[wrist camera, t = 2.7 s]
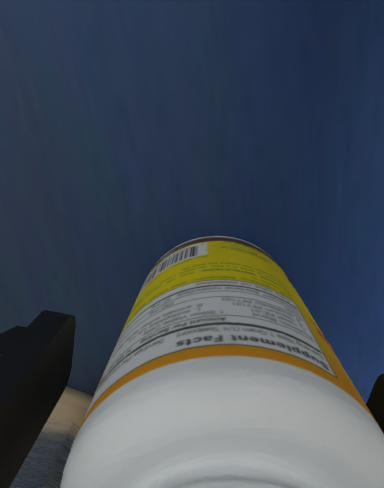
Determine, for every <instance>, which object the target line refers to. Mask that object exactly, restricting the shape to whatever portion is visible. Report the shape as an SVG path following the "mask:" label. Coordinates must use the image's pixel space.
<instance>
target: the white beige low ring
mask: <svg viewBox="0 0 384 488" xmlns="http://www.w3.org/2000/svg"><path fill="white" fill-rule="evenodd" d="M79 428H80V426H79V425H78V424H76V423H75V422H73V421H68V420H62V419H57V418H51V417H49V419H48V420H47V422H46V424H45V426H44V427H43V429H42V431H41V433H40V434H39V436H38V438H37V440H36V441H35V443H34V445H33V447H32V448H31V450H30V452H29V454H28V455H27V457H26V459H25V461H24V463H23V464H22V466H21V468H20V470H19V471H18V473H17V475H16V477H15V478H14V480H13V482H12V484H11V485H10V487H9V488H60V486H61V481H62V476H63V471H64V468H65V465H66V462H67V459H68V456H69V453H70V451H71V447H72V444H73V442H74V440H75V437H76V435H77V433H78V431H79Z"/></svg>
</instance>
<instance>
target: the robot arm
mask: <svg viewBox="0 0 384 488" xmlns="http://www.w3.org/2000/svg"><path fill="white" fill-rule="evenodd" d="M75 323H76V321H75V316H73V315H68V314H63V313H58V312H52V311H47V310H44V311H43V312H41V313H40V314H39V315H38V317H37V318H36V319H35V320H34V321H33V322H32V323H31V324H30V325H29V326H28V327H21V326H16V327H14V328H12V329H10V330H8V331H6V332H4V333H1V334H0V488H9V487H10V485H11V484H12V482H13V480H14V478H15V477H16V475H17V473H18V471H19V470H20V468H21V466H22V464H23V463H24V461H25V459H26V457H27V455H28V454H29V452H30V450H31V448H32V447H33V445H34V443H35V441H36V440H37V438H38V436H39V434H40V433H41V431H42V429H43V427H44V426H45V424H46V422H47V420H48V419H49V417H50V415H51V413H52V411H53V410H54V408H55V406H56V404H57V403H58V401H59V399H60V397H61V396H62V394H63V392H64V390H65V388H66V385H67V383H68V379H69V376H70V372H71V366H72V356H73V345H74V335H75ZM366 406H367V407H368V409H369V410H370V412H371V414H372V415H373V417H374V419H375V420H376V422H377V423H378V425H379V427H380V428H381V430H382V432H383V434H384V374H381V375H380V376H379V377H378V378H377V380H376V382H375V384H374V387H373V389H372V392H371V394H370V397H369V399H368V401H367V404H366Z"/></svg>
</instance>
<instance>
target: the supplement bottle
mask: <svg viewBox="0 0 384 488" xmlns="http://www.w3.org/2000/svg"><path fill="white" fill-rule="evenodd" d="M60 488H384V434H383V432H382V430H381V428H380V427H379V425H378V423H377V422H376V420H375V419H374V417H373V415H372V414H371V412H370V410H369V409H368V407H367V406H366V404H365V402H364V401H363V399H362V397H361V396H360V394H359V393H358V391H357V389H356V388H355V386H354V384H353V383H352V381H351V379H350V378H349V376H348V375H347V373H346V371H345V370H344V368H343V367H342V365H341V363H340V361H339V359H338V358H337V356H336V355H335V353H334V352H333V349H332V347H331V345H330V344H329V343H328V341H327V340H326V339H325V337H324V335H323V334H322V332H321V330H320V329H319V327H318V325H317V324H316V322H315V321H314V319H313V317H312V316H311V314H310V312H309V311H308V309H307V307H306V306H305V304H304V303H303V301H302V299H301V298H300V296H299V295H298V293H297V291H296V290H295V288H294V286H293V285H292V283H291V281H290V280H289V278H288V277H287V275H286V273H285V272H284V270H283V269H282V268H281V267H280V265H279V264H278V263H277V262H276V261H275V260H274V259H273V258H272V257H271V256H270V255H269V254H267V253H266V252H265V251H263V250H262V249H261V248H259V247H257V246H256V245H254V244H251V243H249V242H247V241H244V240H241V239H237V238H233V237H227V236H207V237H200V238H196V239H192V240H190V241H187V242H184V243H182V244H180V245H178V246H176V247H175V248H173V249H172V250H170V251H169V252H167V253H166V254H165V255H164V256H163V257H161V259H160V260H159V261H158V262H157V263H156V264H155V265H154V267H153V268H152V269H151V271H150V272H149V274H148V276H147V278H146V280H145V282H144V284H143V286H142V288H141V290H140V293H139V295H138V297H137V299H136V302H135V304H134V306H133V308H132V310H131V312H130V315H129V317H128V319H127V321H126V323H125V325H124V328H123V330H122V333H121V335H120V337H119V339H118V342H117V344H116V346H115V348H114V350H113V353H112V355H111V357H110V359H109V361H108V364H107V366H106V368H105V370H104V373H103V375H102V377H101V380H100V382H99V384H98V387H97V389H96V391H95V394H94V396H93V398H92V401H91V403H90V405H89V408H88V410H87V412H86V415H85V417H84V419H83V421H82V424H81V426H80V428H79V431H78V433H77V435H76V437H75V440H74V442H73V444H72V447H71V451H70V453H69V456H68V459H67V462H66V465H65V468H64V471H63V476H62V481H61V486H60Z"/></svg>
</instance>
